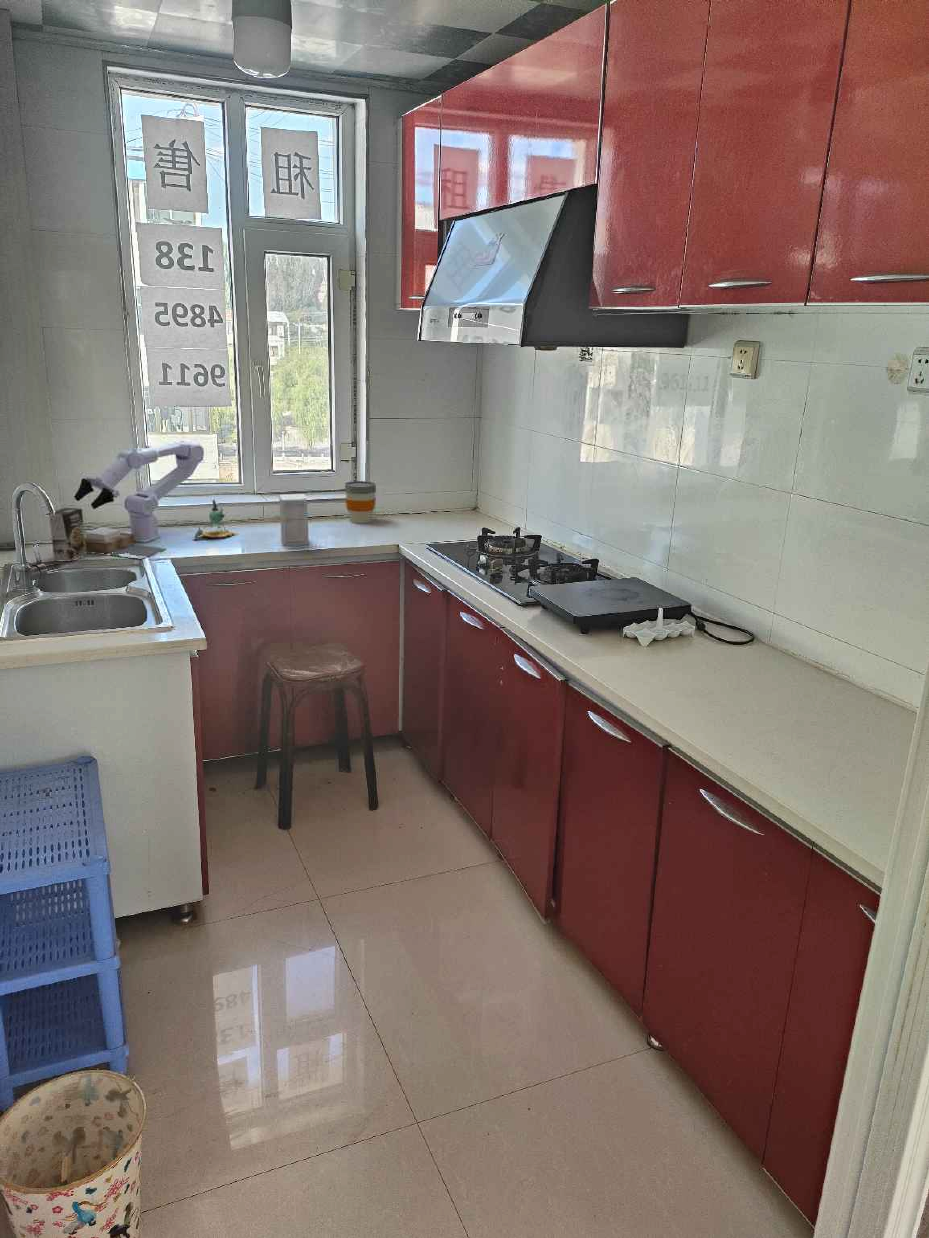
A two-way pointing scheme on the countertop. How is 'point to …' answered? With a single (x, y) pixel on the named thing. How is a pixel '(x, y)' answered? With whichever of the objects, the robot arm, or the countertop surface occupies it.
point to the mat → (139, 550)
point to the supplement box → (294, 519)
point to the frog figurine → (215, 518)
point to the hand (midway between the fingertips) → (84, 502)
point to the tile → (103, 533)
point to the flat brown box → (109, 544)
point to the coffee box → (68, 534)
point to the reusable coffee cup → (360, 500)
